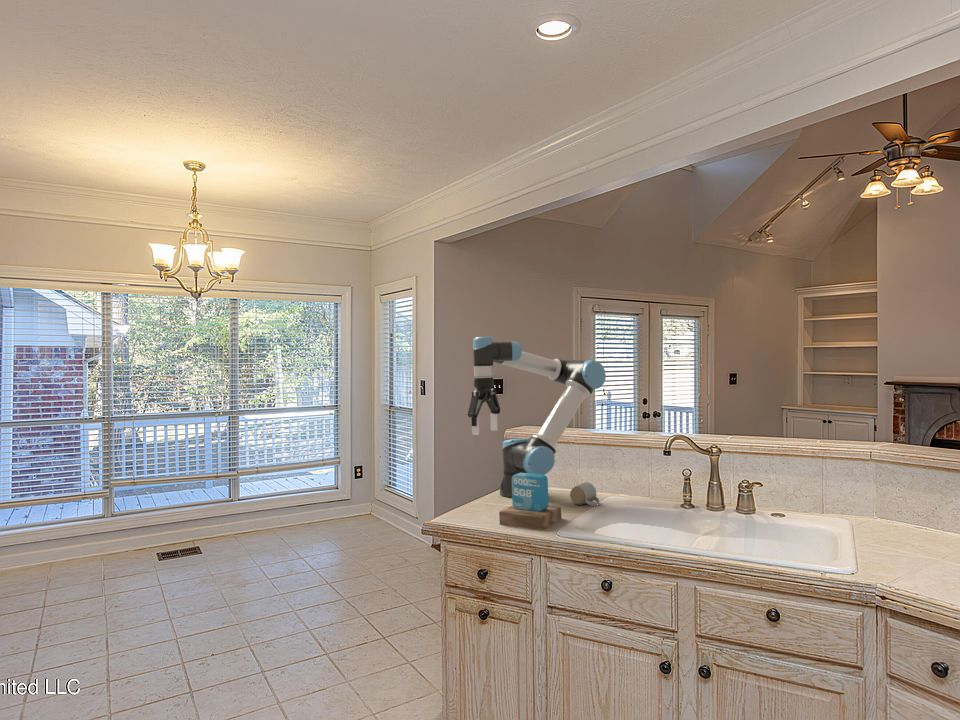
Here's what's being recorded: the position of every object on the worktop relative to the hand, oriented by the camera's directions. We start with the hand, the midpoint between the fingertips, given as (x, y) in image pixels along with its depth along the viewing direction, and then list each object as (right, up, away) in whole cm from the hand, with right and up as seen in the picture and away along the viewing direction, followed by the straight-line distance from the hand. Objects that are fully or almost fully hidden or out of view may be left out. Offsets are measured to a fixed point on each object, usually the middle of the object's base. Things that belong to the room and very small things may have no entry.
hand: (485, 432), depth 233 cm
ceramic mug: (+39, -28, +2) cm, 48 cm away
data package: (+16, -24, -21) cm, 36 cm away
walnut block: (+16, -29, -21) cm, 39 cm away
